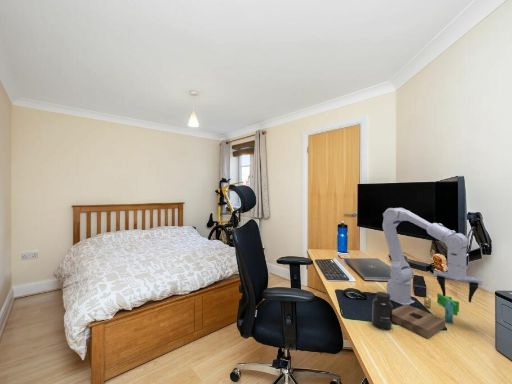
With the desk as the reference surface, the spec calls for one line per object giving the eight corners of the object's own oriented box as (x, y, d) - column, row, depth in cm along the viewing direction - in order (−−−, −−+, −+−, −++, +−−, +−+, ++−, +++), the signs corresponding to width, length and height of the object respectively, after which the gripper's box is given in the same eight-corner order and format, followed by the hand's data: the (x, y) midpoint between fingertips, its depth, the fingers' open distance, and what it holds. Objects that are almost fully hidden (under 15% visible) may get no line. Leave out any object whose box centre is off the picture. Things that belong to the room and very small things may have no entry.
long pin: (443, 321, 94) (444, 301, 93) (446, 319, 95) (446, 300, 95) (451, 324, 91) (451, 303, 91) (453, 322, 93) (454, 302, 93)
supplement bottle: (384, 332, 85) (385, 299, 85) (368, 322, 91) (368, 292, 91) (396, 327, 89) (396, 296, 88) (379, 318, 95) (379, 289, 95)
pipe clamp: (464, 316, 98) (464, 305, 98) (454, 315, 99) (454, 304, 98) (445, 303, 109) (446, 293, 109) (437, 302, 110) (437, 292, 110)
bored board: (387, 319, 94) (388, 312, 94) (406, 310, 101) (406, 303, 101) (427, 338, 82) (427, 330, 82) (445, 327, 89) (445, 319, 89)
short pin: (422, 306, 105) (423, 297, 105) (425, 305, 106) (425, 296, 106) (429, 309, 103) (429, 300, 103) (431, 307, 104) (431, 298, 104)
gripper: (432, 262, 95) (432, 296, 95) (482, 270, 85) (482, 308, 85) (434, 259, 100) (434, 290, 100) (481, 266, 90) (481, 301, 90)
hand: (456, 298), depth 93 cm, fingers open, 7 cm apart
